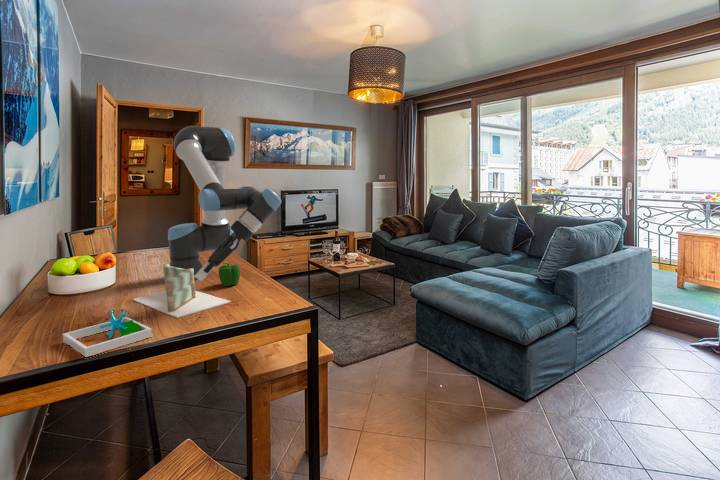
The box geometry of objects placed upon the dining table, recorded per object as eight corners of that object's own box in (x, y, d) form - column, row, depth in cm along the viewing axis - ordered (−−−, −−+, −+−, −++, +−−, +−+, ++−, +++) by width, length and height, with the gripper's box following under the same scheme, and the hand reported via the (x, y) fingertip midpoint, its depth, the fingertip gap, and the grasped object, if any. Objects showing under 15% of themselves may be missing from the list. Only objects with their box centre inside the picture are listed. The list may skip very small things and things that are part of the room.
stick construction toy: (92, 330, 104) (110, 304, 107) (109, 335, 110) (125, 310, 113) (127, 347, 102) (144, 319, 104) (143, 351, 108) (158, 325, 111)
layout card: (132, 300, 138) (132, 298, 138) (183, 287, 153) (183, 286, 153) (177, 318, 119) (177, 316, 119) (230, 302, 134) (230, 300, 134)
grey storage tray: (63, 342, 102) (62, 333, 101) (127, 324, 114) (126, 316, 114) (86, 358, 92) (84, 348, 92) (152, 337, 105) (151, 328, 104)
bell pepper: (236, 281, 163) (235, 257, 161) (243, 285, 156) (242, 261, 154) (216, 284, 158) (214, 260, 156) (222, 288, 151) (220, 263, 150)
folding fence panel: (187, 297, 137) (185, 270, 136) (193, 297, 137) (190, 270, 136) (166, 311, 123) (163, 280, 122) (172, 311, 123) (170, 280, 122)
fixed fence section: (197, 297, 139) (194, 268, 137) (191, 298, 137) (189, 270, 136) (169, 290, 148) (167, 263, 146) (164, 292, 146) (161, 264, 144)
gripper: (258, 236, 130) (209, 290, 125) (249, 231, 142) (204, 280, 137) (241, 221, 127) (190, 276, 122) (234, 217, 139) (187, 268, 134)
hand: (197, 278), depth 130 cm, fingers closed
